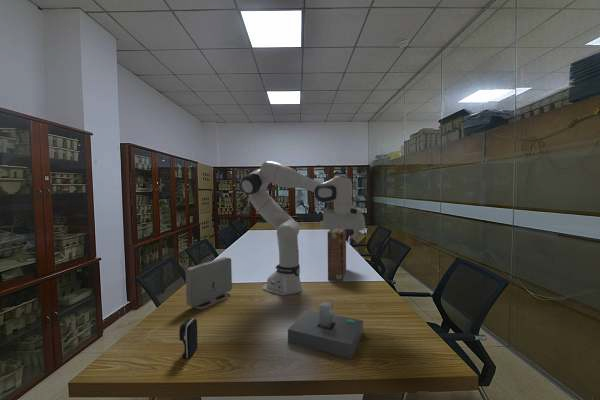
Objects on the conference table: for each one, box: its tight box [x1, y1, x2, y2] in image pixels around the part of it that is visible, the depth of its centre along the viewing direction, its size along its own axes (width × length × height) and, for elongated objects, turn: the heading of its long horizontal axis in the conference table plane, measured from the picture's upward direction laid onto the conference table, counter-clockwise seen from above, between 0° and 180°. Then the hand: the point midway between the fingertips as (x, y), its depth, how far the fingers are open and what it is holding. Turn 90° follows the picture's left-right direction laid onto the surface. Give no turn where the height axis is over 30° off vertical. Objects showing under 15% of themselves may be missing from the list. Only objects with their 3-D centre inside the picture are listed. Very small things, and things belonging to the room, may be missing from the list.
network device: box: [185, 256, 233, 310], centre depth 140 cm, size 26×9×20 cm, turn 148°
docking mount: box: [287, 309, 364, 360], centre depth 105 cm, size 24×18×5 cm
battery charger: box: [178, 318, 199, 359], centre depth 96 cm, size 7×4×11 cm, turn 177°
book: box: [327, 228, 347, 282], centre depth 179 cm, size 25×9×30 cm, turn 166°
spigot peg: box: [318, 301, 334, 330], centre depth 104 cm, size 4×4×12 cm
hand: (343, 238), depth 131 cm, fingers open, 8 cm apart
